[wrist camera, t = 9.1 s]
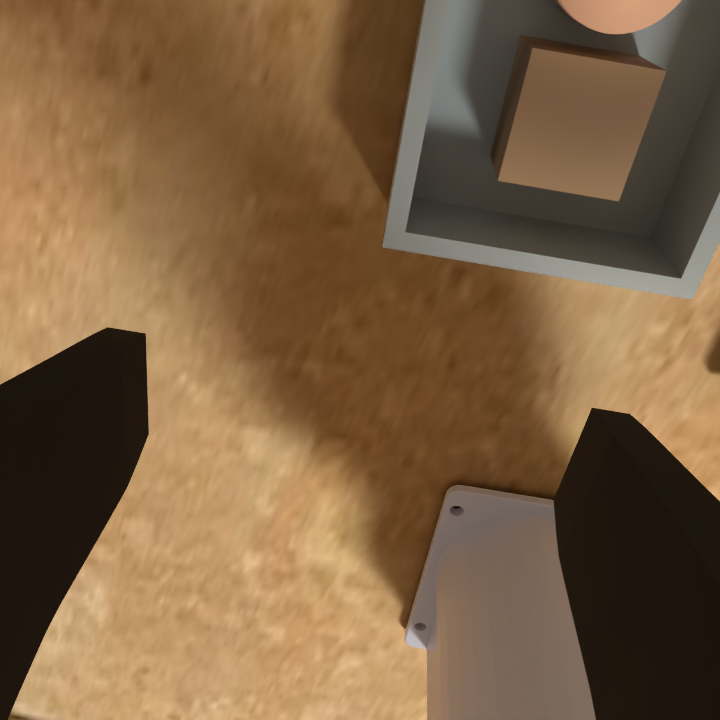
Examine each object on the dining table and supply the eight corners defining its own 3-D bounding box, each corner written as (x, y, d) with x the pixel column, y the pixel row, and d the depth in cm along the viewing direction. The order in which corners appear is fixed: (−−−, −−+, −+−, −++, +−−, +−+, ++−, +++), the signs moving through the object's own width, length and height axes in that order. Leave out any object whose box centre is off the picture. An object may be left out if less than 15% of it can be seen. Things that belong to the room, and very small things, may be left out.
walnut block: (599, 174, 18) (619, 201, 16) (490, 155, 18) (497, 180, 16) (639, 55, 17) (666, 70, 15) (520, 35, 17) (532, 48, 15)
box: (655, 249, 20) (692, 299, 17) (387, 204, 20) (382, 247, 17) (833, -179, 14) (926, -203, 12) (466, -244, 14) (476, -285, 12)
